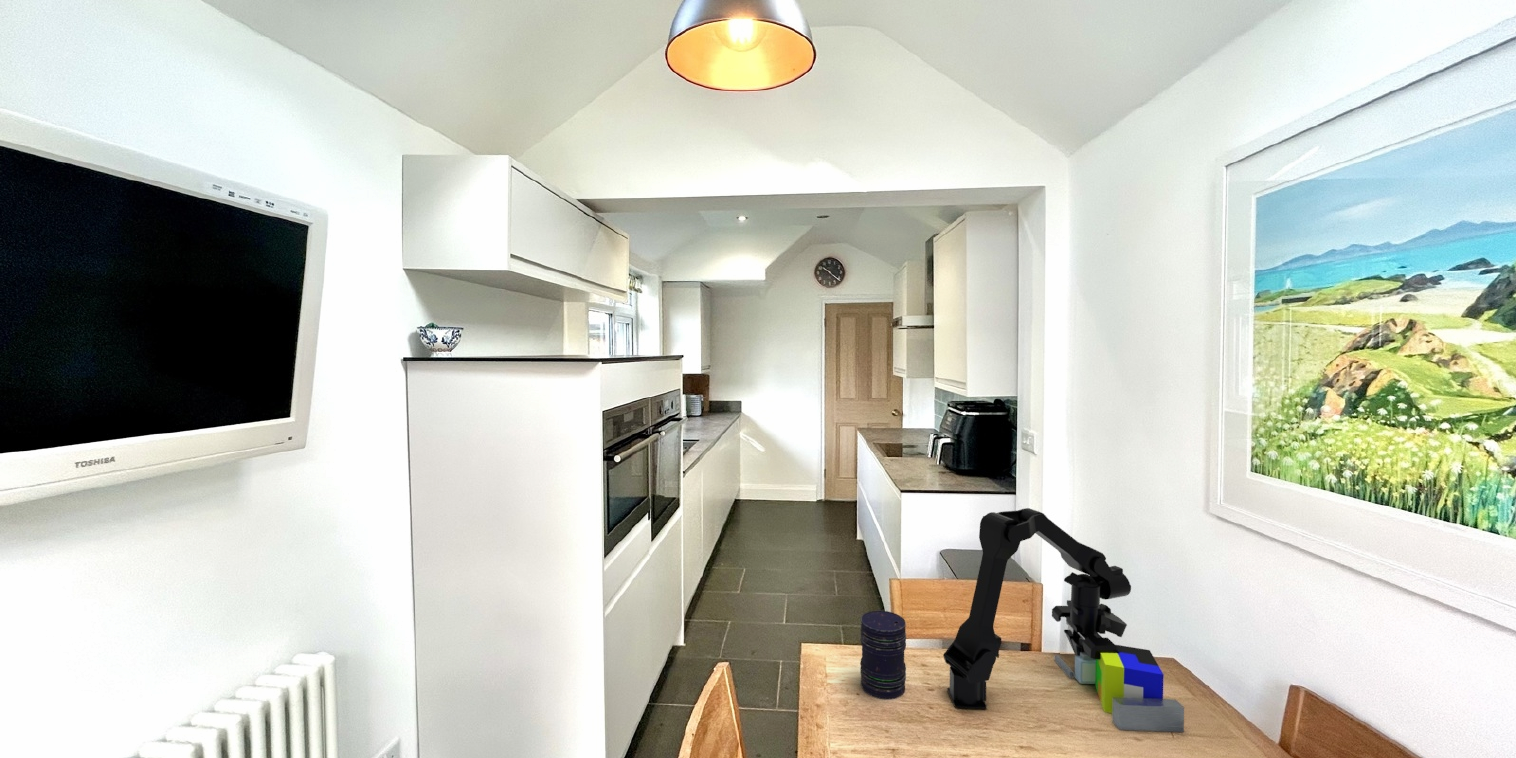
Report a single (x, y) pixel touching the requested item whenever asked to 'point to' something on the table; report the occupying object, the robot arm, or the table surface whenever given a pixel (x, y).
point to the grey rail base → (1142, 711)
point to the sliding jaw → (1085, 669)
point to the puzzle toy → (1127, 676)
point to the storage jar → (883, 654)
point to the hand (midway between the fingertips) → (1082, 666)
